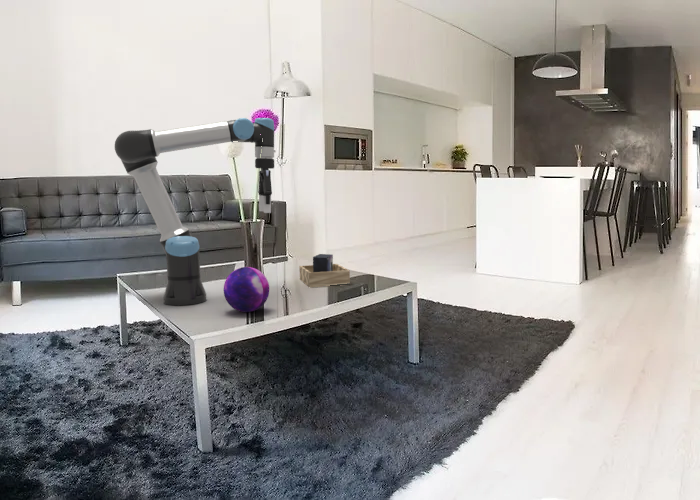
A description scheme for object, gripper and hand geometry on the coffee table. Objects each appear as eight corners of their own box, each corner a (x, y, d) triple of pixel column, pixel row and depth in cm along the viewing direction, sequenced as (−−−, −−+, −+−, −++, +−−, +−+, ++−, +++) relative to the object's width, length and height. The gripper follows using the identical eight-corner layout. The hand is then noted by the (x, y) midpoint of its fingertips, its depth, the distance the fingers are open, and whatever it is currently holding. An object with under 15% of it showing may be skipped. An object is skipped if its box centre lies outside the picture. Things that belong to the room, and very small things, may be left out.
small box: (327, 282, 239) (327, 257, 237) (312, 281, 240) (311, 256, 239) (333, 277, 249) (333, 253, 248) (319, 277, 250) (318, 253, 249)
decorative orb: (245, 304, 202) (243, 262, 200) (279, 309, 194) (277, 265, 192) (215, 313, 189) (212, 269, 187) (249, 318, 181) (247, 271, 180)
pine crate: (349, 284, 237) (349, 270, 236) (309, 287, 232) (309, 273, 232) (337, 276, 257) (336, 263, 256) (299, 279, 252) (299, 265, 252)
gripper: (279, 157, 215) (279, 213, 218) (269, 159, 239) (269, 210, 241) (259, 156, 213) (259, 213, 216) (251, 159, 237) (251, 210, 239)
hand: (264, 212), depth 229 cm, fingers open, 13 cm apart
